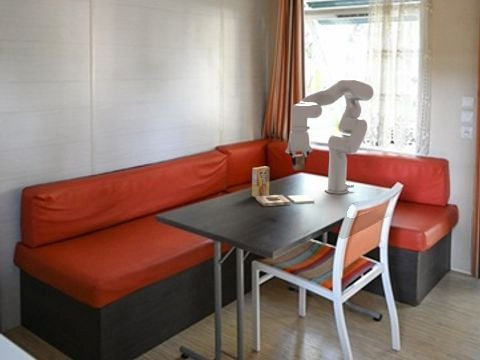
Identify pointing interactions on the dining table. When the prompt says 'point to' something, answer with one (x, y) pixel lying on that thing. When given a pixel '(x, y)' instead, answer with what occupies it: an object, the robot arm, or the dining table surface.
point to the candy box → (260, 181)
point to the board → (300, 199)
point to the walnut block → (299, 162)
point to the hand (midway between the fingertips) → (298, 164)
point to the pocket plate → (279, 201)
